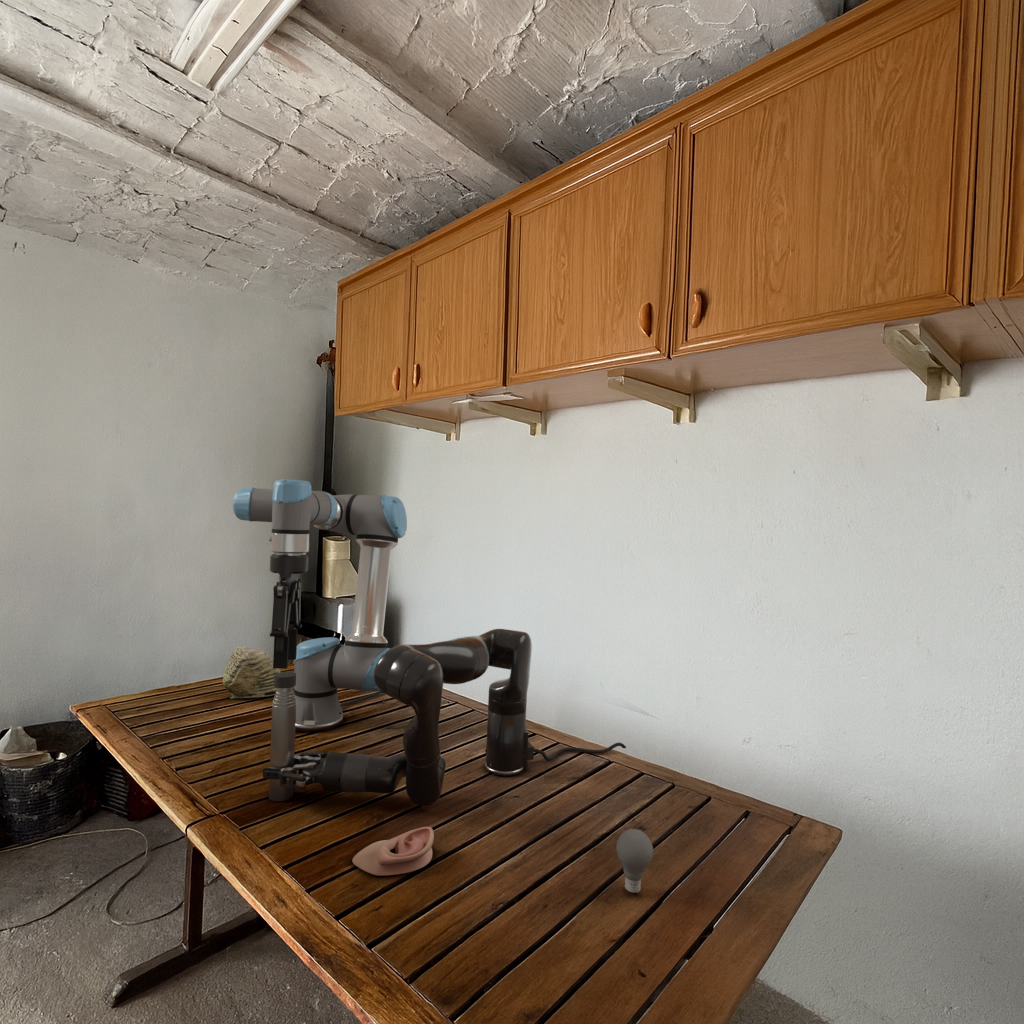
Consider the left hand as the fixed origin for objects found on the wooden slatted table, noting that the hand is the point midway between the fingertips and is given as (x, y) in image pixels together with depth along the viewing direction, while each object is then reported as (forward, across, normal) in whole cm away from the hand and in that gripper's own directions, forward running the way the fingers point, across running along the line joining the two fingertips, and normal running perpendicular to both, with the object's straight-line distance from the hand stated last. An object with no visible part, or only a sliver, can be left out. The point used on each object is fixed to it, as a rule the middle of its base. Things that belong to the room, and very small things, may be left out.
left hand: (285, 663), depth 132 cm
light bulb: (+28, +34, +66) cm, 79 cm away
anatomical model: (+28, +23, +26) cm, 45 cm away
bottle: (+28, -1, 0) cm, 28 cm away
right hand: (+22, -1, -2) cm, 22 cm away
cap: (+3, 0, 0) cm, 3 cm away
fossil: (+28, -68, -25) cm, 78 cm away
